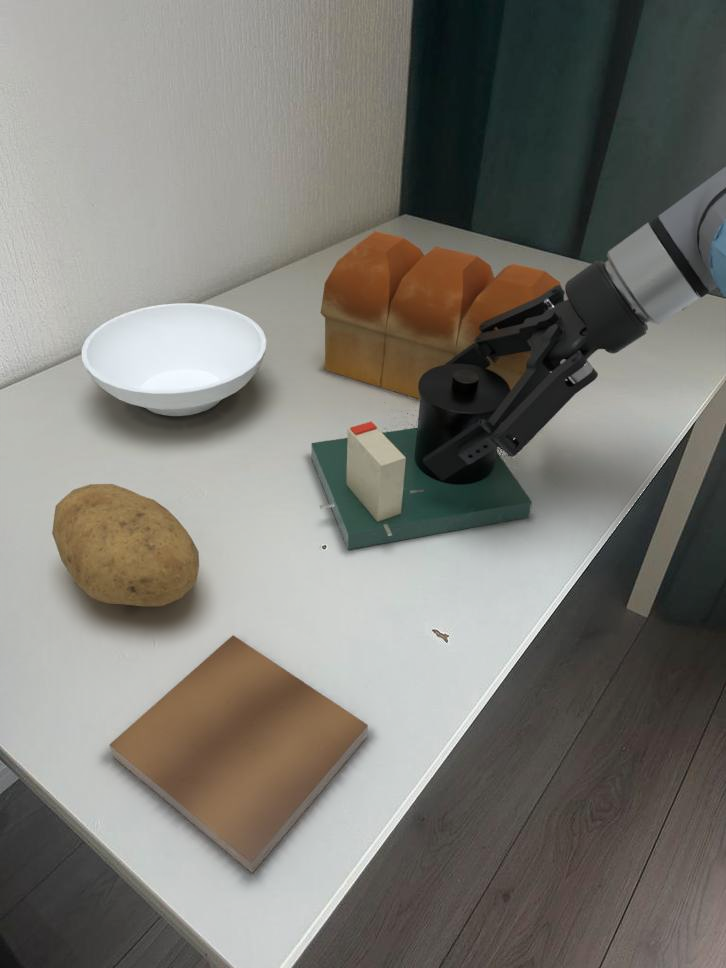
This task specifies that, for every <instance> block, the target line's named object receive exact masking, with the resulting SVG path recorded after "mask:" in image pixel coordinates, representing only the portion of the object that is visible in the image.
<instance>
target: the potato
mask: <svg viewBox="0 0 726 968" xmlns="http://www.w3.org/2000/svg"><path fill="white" fill-rule="evenodd" d="M51 531H52V532H51V534H52V537H53V540H54V543H55V545H56V548H57V551H58V555H59V558H60V560H61V562H62V564H63V566H64V567H65V568H66V570H67V571H68V573H69V574H70V576H71V577H72V579H73V580H74V582H75V583H76V584H77V586H78V587H79V588H81V590H83V591H84V592H85V594H87V595H88V596H89V597H90V598H91V599H93V600H96V601H99V602H102V603H104V604H111V605H112V604H113V605H126V606H127V605H128V606H137V607H164V606H166V605H169V604H171V603H173V602H175V601H178V600H179V599H182V598H183V597H184V596H185V595H186V594H187V593H188V592H189V591H190V590H191V589H192V588H193V587H194V586H195V585H196V584H197V581H198V576H199V575H198V574H199V568H200V555H199V550H198V548H197V546H196V545H195V543H194V541H193V540H194V539H193V538H192V537H191V535H190V534H189V532H188V531H187V529H186V528H185V527H184V525H183V524H181V522H180V521H179V520H178V518H177V517H176V516H175V515H174V514H173V513H172V512H171V511H170V510H169V509H167V508H166V507H165V506H163V505H161V503H160V502H158V501H156V500H155V499H152V498H150V497H147V496H143V495H141V494H139V493H136V492H135V491H132V490H131V489H128V488H125V487H123V486H119V485H117V484H114V483H93V484H91V483H90V484H87V485H84V486H81V487H78V488H75V489H73V490H71V491H70V492H69V493H68V494H67V495H65V496H64V497H63V498H62V499H61V500H60V501H58V503H57V504H56V505H55V508H54V514H53V523H52V530H51Z"/></svg>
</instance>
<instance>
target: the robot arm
mask: <svg viewBox="0 0 726 968" xmlns="http://www.w3.org/2000/svg"><path fill="white" fill-rule="evenodd" d="M606 257H607V260H606V261H603V260H599V261H598V260H595V261H594V262H592V263H590V264H589V265H588V266H587V267H585V268H584V269H582V270H581V271H580V272H579V273H577V274H575V275H574V276H573V277H571V278H570V279H569V280H567V282H566V283H565V287H564V288H563V287H562V288H561V286H562V285H561V286H560V285H557V286H555V287H553V288H552V289H550V290H549V291H547V292H546V293H545V294H543V295H542V296H540V297H538V298H536V299H534V300H531V301H529V302H527V303H525V304H522V305H520V306H518V307H516V308H513V309H511V310H509V311H507V312H504V313H502V314H500V315H498V316H496V317H493V318H491V319H489V320H487V321H484V322H483V323H481V324H480V326H479V330H480V331H481V334H479V335H478V336H477V337H476V338H475V343H474V344H472V345H470V346H469V347H468V348H466V349H465V350H464V351H462V352H461V353H459V354H458V355H457V356H455V357H454V358H453V359H451V360H450V361H448V362H447V363H446V364H469V365H475V366H479V367H483V368H487V367H488V366H490V361H489V360H488V359H487V358H486V357H487V356H488V357H489V358H490V359H491V360H492V361H493V362H494V363H496V362H495V360H496V361H497V360H498V358H499V357H500V356H505V355H511V354H516V353H522V352H527V351H530V355H531V356H530V357H529V359H528V360H527V362H526V367H527V369H526V371H525V372H524V374H523V375H522V376H521V378H520V379H519V380H518V382H517V383H516V384H515V386H514V387H513V388H512V390H511V391H510V392H509V394H508V395H507V396H506V398H505V399H504V400H503V402H502V403H501V404H500V406H499V407H498V408H497V410H496V411H495V412H494V413H493V415H492V416H491V417H490V419H489V420H487V421H486V420H483V419H480V420H479V421H478V422H476V423H475V424H473V425H472V426H470V427H469V428H467V429H466V430H464V431H463V432H461V433H460V434H458V435H457V436H455V437H454V438H452V439H451V440H449V441H448V442H446V443H445V444H443V445H442V446H440V447H439V448H437V449H436V450H434V451H433V452H431V453H430V454H428V455H427V456H425V457H424V458H423V464H425V465H426V466H427V467H428V468H429V469H430V470H431V471H432V472H433V473H434V474H435V475H436V476H437V477H438V478H440V479H441V480H442V481H443V480H445V479H446V478H448V477H449V476H451V475H452V474H454V473H456V472H457V471H459V470H460V469H462V468H463V467H465V466H467V465H468V464H471V463H473V462H475V461H476V460H477V459H479V458H481V457H483V456H484V455H486V454H487V453H489V452H490V451H492V450H494V449H495V448H497V449H498V448H500V449H501V450H502V451H503V452H504V453H505V454H506V455H507V456H508V457H510V458H514V457H515V456H516V455H518V454H519V453H520V452H521V451H522V450H523V449H524V448H525V447H526V446H527V445H528V444H529V443H530V441H532V439H533V438H534V437H536V436H537V435H538V433H539V432H540V431H541V430H542V429H543V428H544V427H545V426H546V425H547V424H548V423H549V422H550V421H551V420H552V419H553V418H554V417H555V416H556V415H557V414H558V413H559V411H560V410H561V409H562V408H563V407H565V405H567V403H568V402H569V401H571V399H573V397H574V396H576V394H577V393H579V392H581V390H583V389H584V388H586V387H588V385H590V384H591V383H592V382H594V381H595V380H596V379H597V378H598V376H599V373H598V371H597V370H596V368H594V367H593V366H592V364H591V363H590V362H589V361H588V359H589V358H590V357H591V356H592V355H593V354H595V352H597V351H598V350H605V352H607V353H609V354H613V355H614V354H617V353H619V352H621V351H622V350H623V349H625V348H627V347H628V346H630V345H631V344H633V343H634V342H635V341H637V340H639V339H640V338H642V337H643V336H645V335H646V334H647V331H648V329H649V327H648V323H650V322H651V324H652V325H653V324H654V325H657V326H659V325H661V324H662V323H664V322H665V321H666V320H668V319H670V318H671V317H672V316H673V317H674V316H675V315H676V314H678V313H679V312H681V311H684V310H686V309H688V307H689V306H690V305H691V304H693V303H694V302H695V301H697V300H698V299H700V298H704V297H705V296H706V295H708V294H709V293H710V292H712V291H713V290H715V289H716V288H717V290H718V292H719V293H721V294H722V296H723V298H725V299H726V166H725V167H723V168H722V169H720V170H719V171H718V172H716V173H715V174H713V175H712V176H711V177H709V178H708V179H707V180H705V181H704V182H703V183H701V184H700V185H698V187H696V188H694V189H693V190H691V191H690V192H689V193H688V194H686V195H685V196H684V197H682V198H680V200H678V201H676V202H675V203H674V204H673V205H671V206H669V208H667V209H666V210H664V211H663V212H662V213H660V214H659V215H658V216H657V217H655V218H654V219H652V220H650V221H649V222H646V223H645V224H643V225H642V226H641V227H639V228H638V229H637V230H635V231H634V232H632V233H631V234H630V235H628V236H627V237H626V238H624V239H623V240H622V241H620V242H618V244H616V245H615V246H613V247H612V248H610V249H609V250H608V251H607V254H606ZM495 327H497V328H498V330H495V329H494V328H495ZM446 364H444V365H446ZM502 422H503V423H502ZM501 423H502V424H501ZM500 424H501V425H500Z"/></svg>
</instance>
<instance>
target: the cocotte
mask: <svg viewBox="0 0 726 968" xmlns="http://www.w3.org/2000/svg"><path fill="white" fill-rule="evenodd" d="M510 391H511V390H510V387H509V385H508V383H507V382H506V381H505V380H504V379H503V378H502V377H501V376H499V375H498V374H496V373H495V372H493V371H491V370H488V369H486V368H483V367H479V366H475V365H469V364H446V365H441V366H437V367H434V368H432V369H430V370H428V371H427V372H425V373H424V374H423V375H422V376H421V378H420V380H419V384H418V392H419V395H420V399H419V405H418V406H419V408H418V418H417V427H416V428H417V437H416V447H415V462H416V464H417V466H418V467H419V469H420V470H421V471H422V472H423V473H425V474H426V475H427V476H429V477H431V478H433V479H435V480H437V481H440V482H444V483H449V484H459V485H462V484H471V483H475V482H478V481H481V480H483V479H485V478H486V477H487V476H488V475H489V474H490V473H491V472H492V471H493V468H494V464H495V459H496V453H498V448H495V449H494V450H492V451H490V452H489V453H487V454H486V455H484V456H483V457H481V458H479V459H477V460H476V461H475V462H473V463H471V464H468V465H467V466H465V467H463V468H462V469H460V470H459V471H457V472H456V473H454V474H452V475H451V476H449V477H448V478H446V479H445V480H443V481H442V480H441V479H440V478H438V477H437V476H436V475H435V474H434V473H433V472H432V471H431V470H430V469H429V468H428V467H427V466H426V465H425V464H423V458H424V457H425V456H427V455H428V454H430V453H431V452H433V451H434V450H436V449H437V448H439V447H440V446H442V445H443V444H445V443H446V442H448V441H449V440H451V439H452V438H454V437H455V436H457V435H458V434H460V433H461V432H463V431H464V430H466V429H467V428H469V427H470V426H472V425H473V424H475V423H476V422H478V421H479V420H480V419H483V420H486V421H487V420H489V419H490V417H491V416H492V415H493V413H494V412H495V411H496V410H497V408H498V407H499V406H500V404H501V403H502V402H503V400H504V399H505V398H506V396H507V395H508V394H509V392H510ZM501 424H502V423H501ZM501 424H500V425H501Z"/></svg>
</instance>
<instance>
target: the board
mask: <svg viewBox="0 0 726 968" xmlns="http://www.w3.org/2000/svg"><path fill="white" fill-rule="evenodd" d="M368 727H369V725H368V724H367V723H366V722H364V721H362V720H361V719H360V718H358V717H357V716H355V715H353V714H352V713H351V712H349V711H348V710H346V709H345V708H344V707H342V706H341V705H339V704H338V703H336V702H334V701H333V700H332V699H330V698H328V697H327V696H325V695H324V694H322V693H321V692H319V691H318V690H316V689H315V688H314V687H312V686H310V685H309V684H308V683H306V682H304V681H303V680H302V679H300V678H298V677H297V676H295V675H294V674H292V673H291V672H289V671H288V670H286V669H285V668H284V667H282V666H280V665H279V664H277V663H276V662H274V661H272V660H271V659H269V658H268V657H267V656H265V655H264V654H263V653H261V652H259V651H258V650H257V649H255V648H254V647H252V646H251V645H249V644H247V643H245V642H244V641H243V640H241V639H239V638H238V637H237V636H235V635H234V634H232V635H231V636H230V637H229V638H228V639H227V640H226V641H224V643H222V644H221V645H220V646H219V647H218V648H216V650H215V651H213V652H212V653H211V654H210V655H209V656H208V657H207V658H205V659H204V660H203V661H202V662H201V663H200V664H199V665H197V666H196V667H195V668H194V669H193V670H192V671H191V672H190V673H189V674H187V675H186V676H185V677H184V678H183V679H182V680H181V681H179V682H178V683H177V684H176V685H175V686H174V687H172V689H170V690H169V691H168V692H166V694H164V696H163V697H161V698H159V700H158V701H157V702H156V703H154V704H153V705H152V706H151V707H150V708H149V709H148V710H146V711H145V712H144V713H143V714H142V715H141V716H140V717H138V718H137V719H136V720H135V721H134V722H133V723H132V724H131V725H130V726H129V727H127V728H125V730H124V731H123V732H121V734H119V735H118V736H117V737H116V738H115V739H114V740H112V742H110V743H109V748H110V751H111V754H112V757H113V758H114V759H115V760H117V762H119V763H120V764H121V765H122V766H123V767H125V768H126V769H127V770H129V771H130V772H131V773H132V774H133V775H134V776H136V778H138V779H139V780H140V781H141V782H142V783H144V784H145V785H146V786H147V787H149V788H150V789H151V790H152V791H153V792H155V793H156V794H157V795H158V796H160V798H161V799H163V800H164V801H165V802H166V803H167V804H169V805H170V806H171V807H173V808H174V809H175V811H177V812H178V813H179V814H181V815H182V816H183V817H184V818H186V819H187V820H188V821H189V822H190V823H191V824H192V825H194V826H195V827H196V828H197V829H199V831H201V832H202V833H203V834H204V835H206V836H207V837H208V838H210V839H211V840H212V841H213V842H214V843H215V844H216V845H218V846H219V847H220V848H221V849H223V850H224V851H225V852H226V853H227V854H229V856H231V857H232V858H233V859H234V860H236V861H237V863H240V865H242V866H243V868H245V869H246V870H248V871H249V872H250V873H251V874H254V873H255V871H256V870H257V869H258V868H259V866H260V865H261V864H262V863H263V861H264V860H265V859H266V858H267V857H268V856H269V854H270V853H271V852H272V851H273V850H274V848H275V847H276V846H277V845H278V844H279V842H280V841H281V840H282V839H283V838H284V837H285V835H286V834H287V833H288V832H289V830H290V829H291V828H293V826H294V825H295V823H296V822H297V821H298V820H299V818H300V817H301V816H302V815H303V814H304V813H305V812H306V810H307V809H308V808H310V805H311V804H313V802H314V801H315V800H316V799H317V797H318V796H319V795H320V794H321V792H322V791H323V790H324V789H325V788H326V786H328V784H329V783H330V782H331V781H332V779H333V778H334V777H335V776H336V774H337V773H338V772H339V771H340V770H341V769H342V767H343V766H344V765H345V764H346V763H347V761H348V760H349V759H350V757H352V756H353V754H354V753H355V752H356V750H357V749H358V748H359V747H360V746H361V745H362V744H363V742H364V741H366V739H367V737H368Z"/></svg>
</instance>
